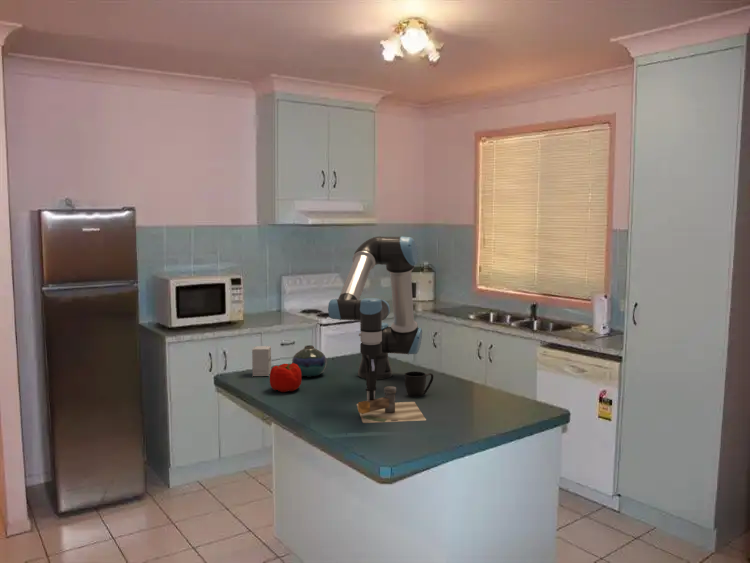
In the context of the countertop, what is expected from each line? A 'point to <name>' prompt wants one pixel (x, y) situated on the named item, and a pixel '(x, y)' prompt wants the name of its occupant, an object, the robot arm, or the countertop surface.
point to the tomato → (285, 377)
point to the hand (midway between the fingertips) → (371, 407)
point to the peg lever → (380, 402)
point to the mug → (416, 383)
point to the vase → (310, 361)
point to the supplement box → (261, 360)
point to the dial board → (394, 414)
